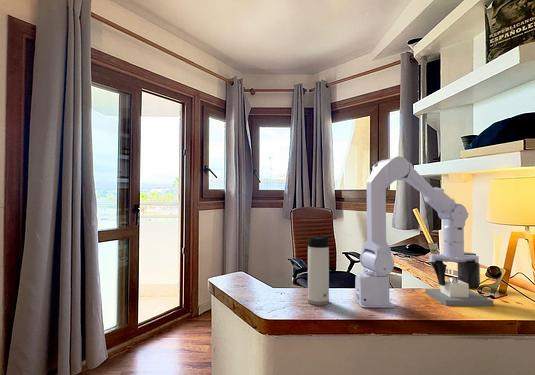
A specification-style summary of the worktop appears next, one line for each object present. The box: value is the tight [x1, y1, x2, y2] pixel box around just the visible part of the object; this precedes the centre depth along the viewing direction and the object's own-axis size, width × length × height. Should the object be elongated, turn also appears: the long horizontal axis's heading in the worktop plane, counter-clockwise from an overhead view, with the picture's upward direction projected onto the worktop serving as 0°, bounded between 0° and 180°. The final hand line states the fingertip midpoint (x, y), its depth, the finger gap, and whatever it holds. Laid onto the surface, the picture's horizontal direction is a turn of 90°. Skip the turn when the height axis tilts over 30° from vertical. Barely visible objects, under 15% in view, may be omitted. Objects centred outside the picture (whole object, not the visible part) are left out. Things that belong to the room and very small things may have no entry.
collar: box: [439, 278, 470, 297], centre depth 99 cm, size 6×6×4 cm
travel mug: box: [307, 234, 331, 306], centre depth 96 cm, size 6×7×20 cm
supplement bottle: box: [456, 251, 481, 290], centre depth 114 cm, size 7×7×12 cm
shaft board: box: [424, 277, 494, 307], centre depth 99 cm, size 14×12×6 cm
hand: (453, 285), depth 99 cm, fingers open, 7 cm apart
